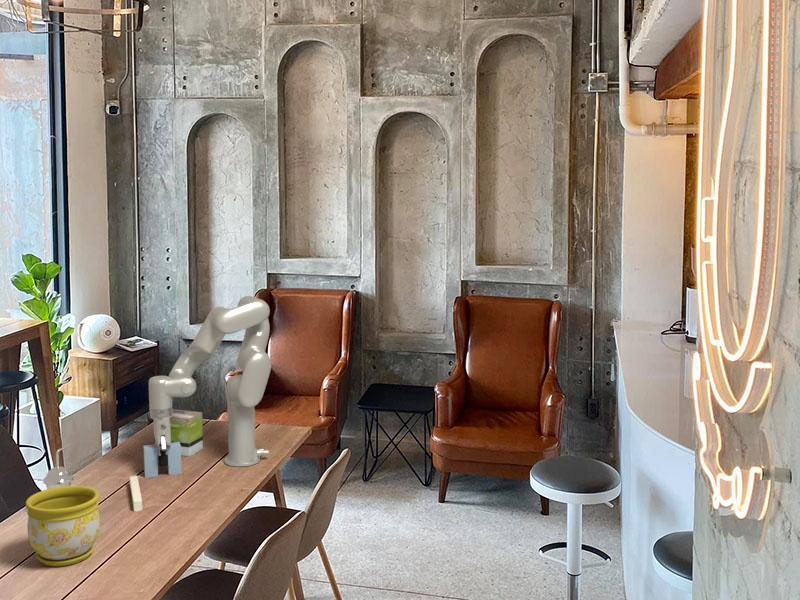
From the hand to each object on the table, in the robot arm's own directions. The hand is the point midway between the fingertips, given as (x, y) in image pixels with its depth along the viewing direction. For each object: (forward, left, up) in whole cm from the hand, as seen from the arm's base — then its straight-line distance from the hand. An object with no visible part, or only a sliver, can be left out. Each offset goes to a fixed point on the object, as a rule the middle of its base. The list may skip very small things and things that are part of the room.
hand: (162, 463), depth 283 cm
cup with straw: (+32, +24, -4) cm, 40 cm away
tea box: (-8, -24, -4) cm, 26 cm away
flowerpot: (+30, +58, -4) cm, 65 cm away
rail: (+10, +20, -4) cm, 23 cm away
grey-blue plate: (0, 0, -4) cm, 4 cm away
